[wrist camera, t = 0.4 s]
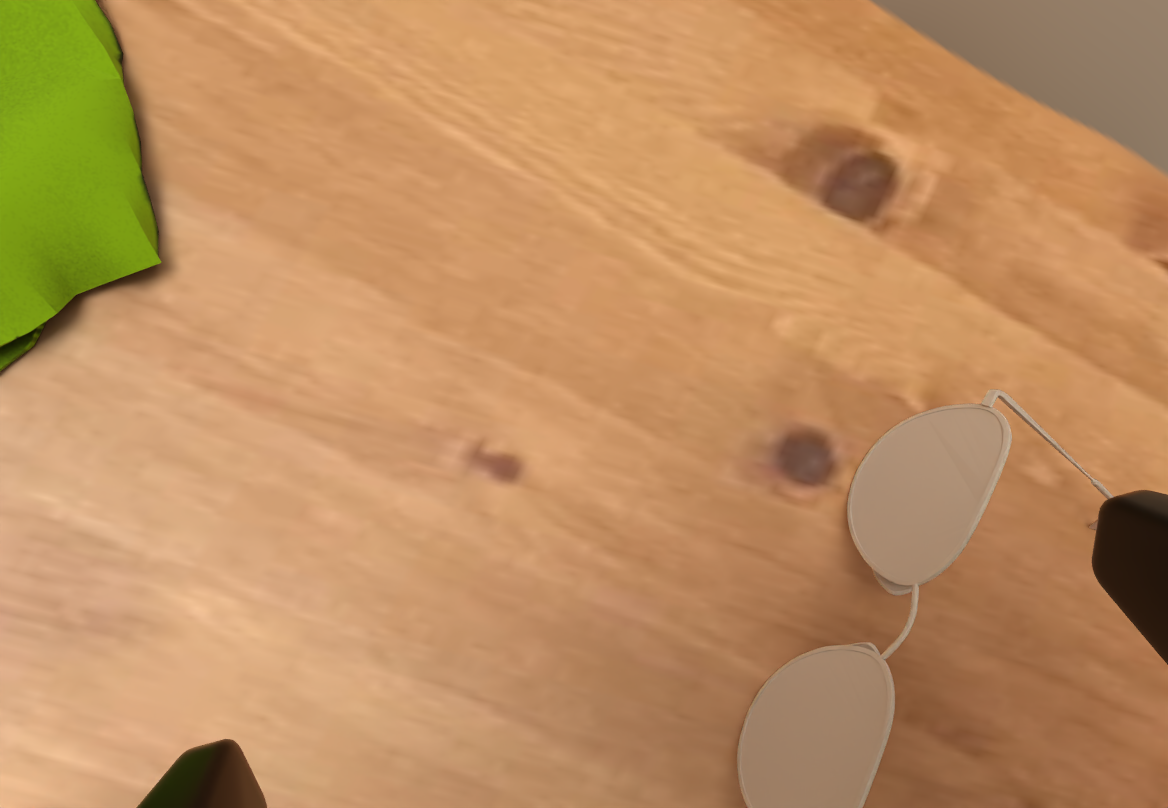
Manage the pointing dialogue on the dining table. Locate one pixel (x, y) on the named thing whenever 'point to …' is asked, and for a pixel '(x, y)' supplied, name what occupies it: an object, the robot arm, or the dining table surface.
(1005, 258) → the dining table surface
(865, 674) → the sunglasses
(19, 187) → the cloth
